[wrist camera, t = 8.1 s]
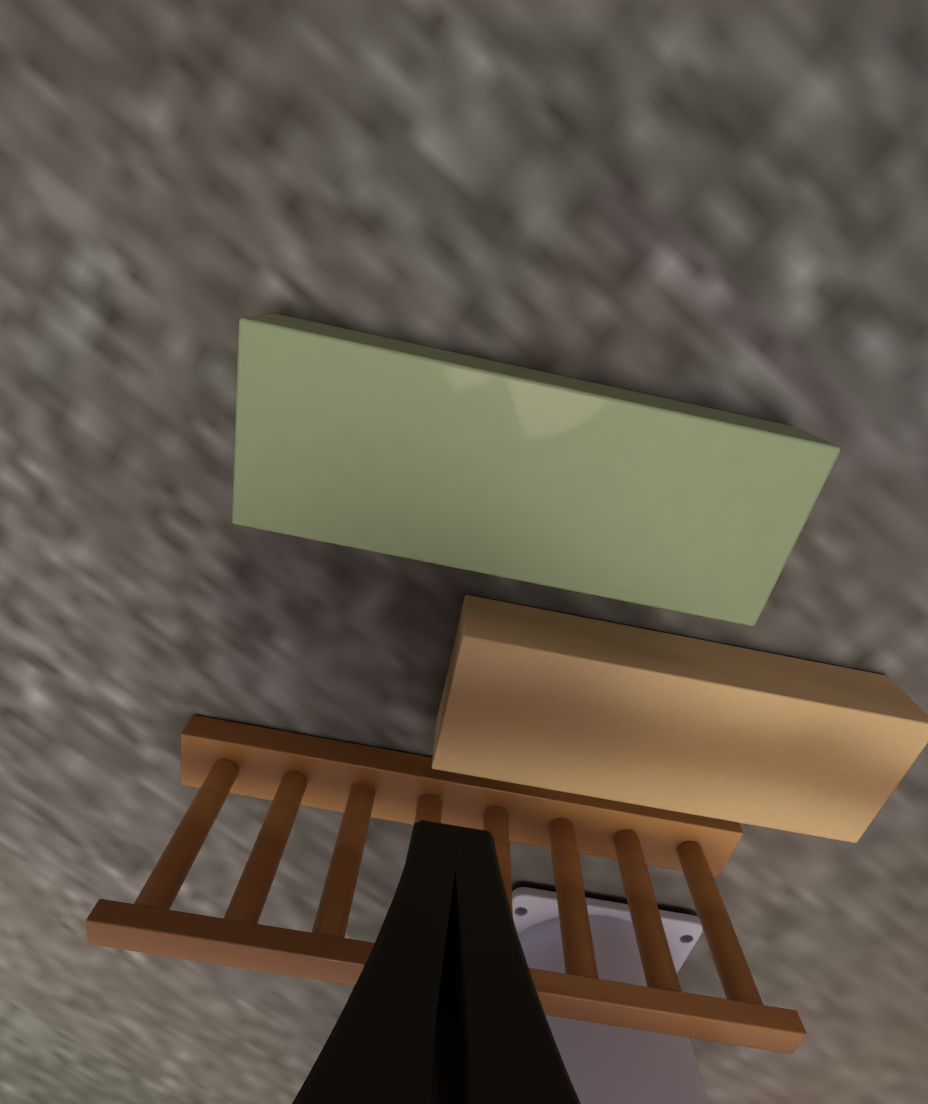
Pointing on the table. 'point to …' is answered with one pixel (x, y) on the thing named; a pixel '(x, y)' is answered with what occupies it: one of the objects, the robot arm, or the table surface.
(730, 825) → the plate rack
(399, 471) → the sage board
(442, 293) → the table surface
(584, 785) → the beech board
